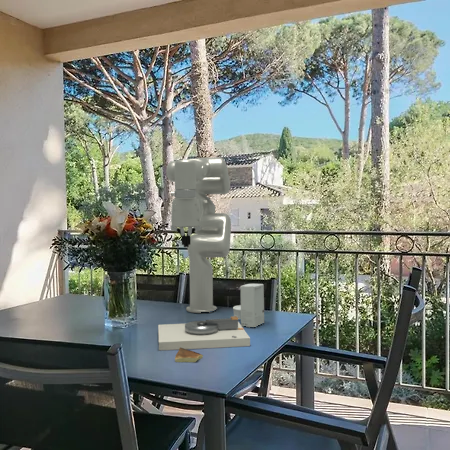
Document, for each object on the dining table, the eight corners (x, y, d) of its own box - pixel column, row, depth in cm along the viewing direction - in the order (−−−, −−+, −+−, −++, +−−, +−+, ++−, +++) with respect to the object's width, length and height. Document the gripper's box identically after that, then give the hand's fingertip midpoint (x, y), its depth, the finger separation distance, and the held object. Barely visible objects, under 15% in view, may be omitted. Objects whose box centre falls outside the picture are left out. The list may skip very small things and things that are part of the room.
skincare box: (254, 328, 173) (254, 286, 172) (239, 326, 176) (239, 285, 175) (264, 323, 180) (264, 283, 179) (250, 321, 183) (250, 282, 182)
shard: (180, 352, 147) (179, 346, 147) (205, 352, 147) (205, 346, 147) (173, 363, 137) (173, 357, 136) (201, 364, 136) (201, 357, 136)
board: (158, 331, 169) (158, 323, 169) (238, 328, 173) (238, 320, 173) (158, 350, 147) (158, 341, 147) (250, 346, 151) (250, 337, 151)
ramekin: (260, 319, 187) (260, 308, 186) (239, 322, 183) (239, 310, 183) (249, 315, 195) (249, 304, 194) (229, 317, 191) (229, 306, 191)
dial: (187, 335, 154) (187, 323, 153) (182, 327, 164) (182, 316, 164) (241, 332, 157) (241, 320, 157) (233, 324, 168) (233, 313, 168)
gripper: (164, 195, 168) (165, 248, 168) (207, 194, 170) (208, 247, 171) (163, 195, 175) (164, 246, 176) (205, 195, 177) (205, 245, 178)
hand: (186, 246), depth 173 cm, fingers closed
